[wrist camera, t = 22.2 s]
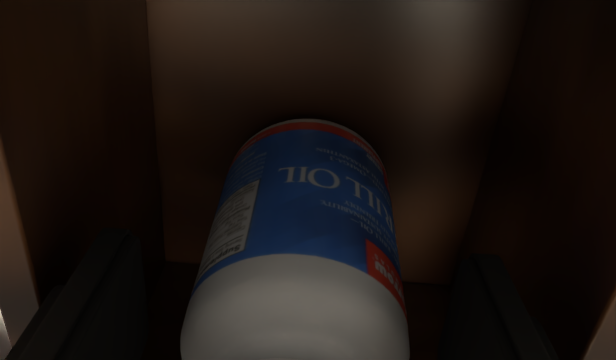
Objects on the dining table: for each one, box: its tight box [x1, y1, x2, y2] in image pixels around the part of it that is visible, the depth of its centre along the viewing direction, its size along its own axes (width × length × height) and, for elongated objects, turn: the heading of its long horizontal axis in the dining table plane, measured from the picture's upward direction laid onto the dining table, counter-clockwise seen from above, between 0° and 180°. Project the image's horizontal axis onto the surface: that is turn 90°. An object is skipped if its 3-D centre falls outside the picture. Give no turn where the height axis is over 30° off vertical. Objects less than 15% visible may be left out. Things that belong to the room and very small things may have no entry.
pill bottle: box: [180, 119, 410, 360], centre depth 14 cm, size 6×5×10 cm
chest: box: [0, 0, 616, 360], centre depth 14 cm, size 15×13×9 cm
